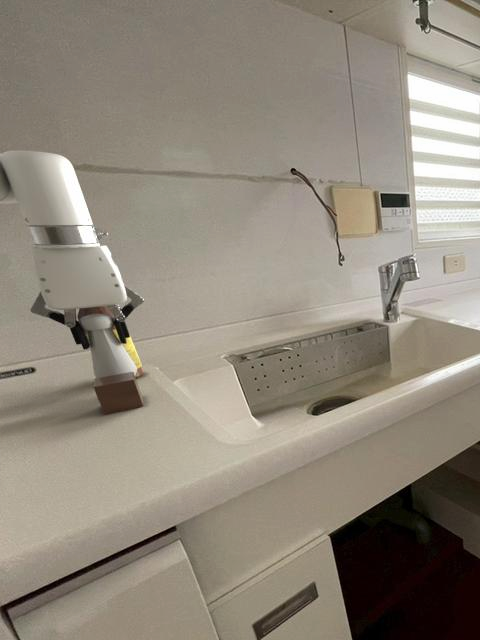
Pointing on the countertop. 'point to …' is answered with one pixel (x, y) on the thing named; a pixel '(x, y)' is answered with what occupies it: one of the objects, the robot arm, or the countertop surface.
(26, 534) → the countertop surface
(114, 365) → the salt shaker
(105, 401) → the walnut block
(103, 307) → the sauce bottle
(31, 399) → the countertop surface
